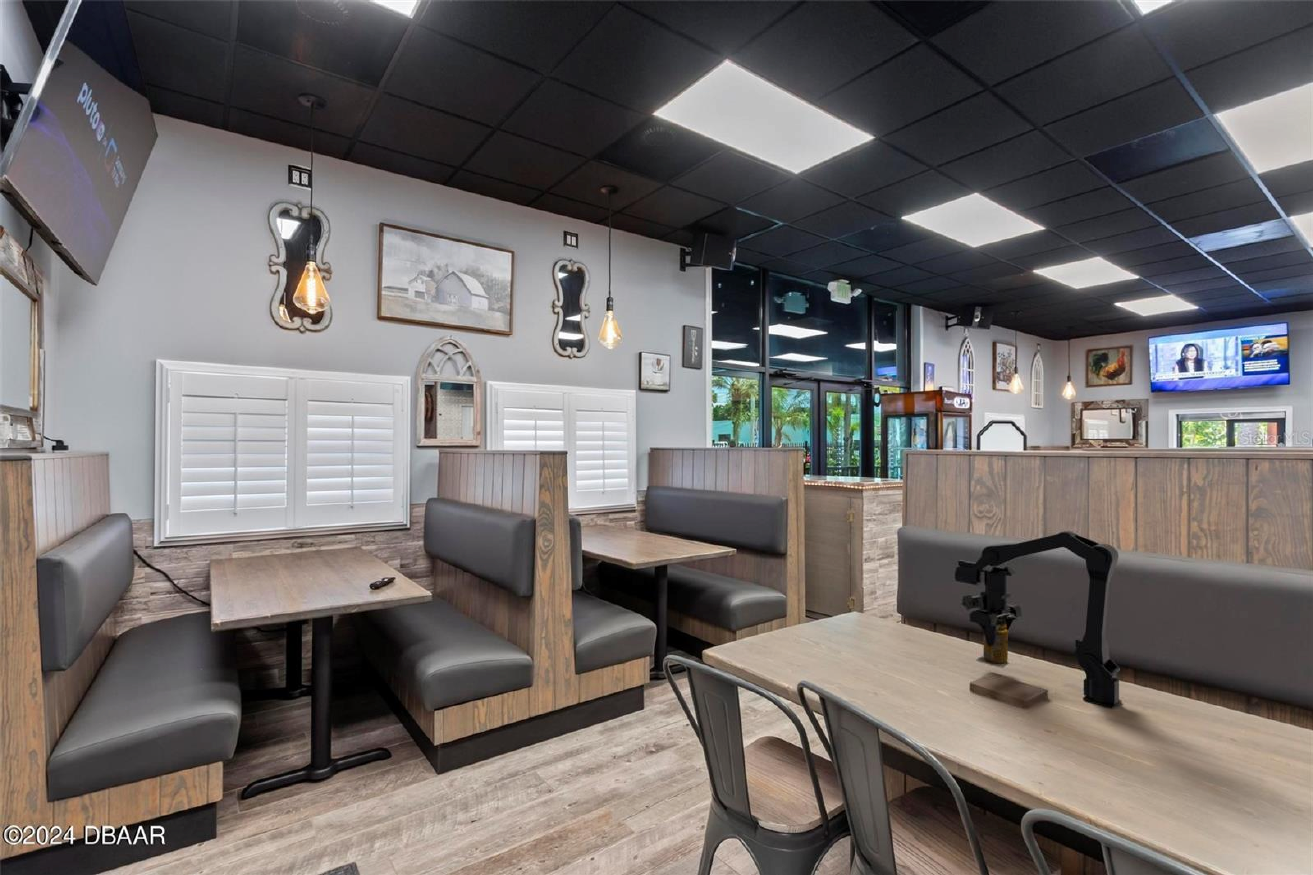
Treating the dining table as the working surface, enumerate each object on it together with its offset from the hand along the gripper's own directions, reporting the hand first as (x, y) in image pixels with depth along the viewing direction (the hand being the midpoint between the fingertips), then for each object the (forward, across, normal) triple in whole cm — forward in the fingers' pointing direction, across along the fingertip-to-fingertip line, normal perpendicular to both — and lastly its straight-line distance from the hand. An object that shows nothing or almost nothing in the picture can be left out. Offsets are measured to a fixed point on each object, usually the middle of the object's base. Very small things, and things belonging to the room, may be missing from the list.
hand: (995, 644), depth 176 cm
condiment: (+5, +1, 0) cm, 5 cm away
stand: (+8, +12, +9) cm, 17 cm away
